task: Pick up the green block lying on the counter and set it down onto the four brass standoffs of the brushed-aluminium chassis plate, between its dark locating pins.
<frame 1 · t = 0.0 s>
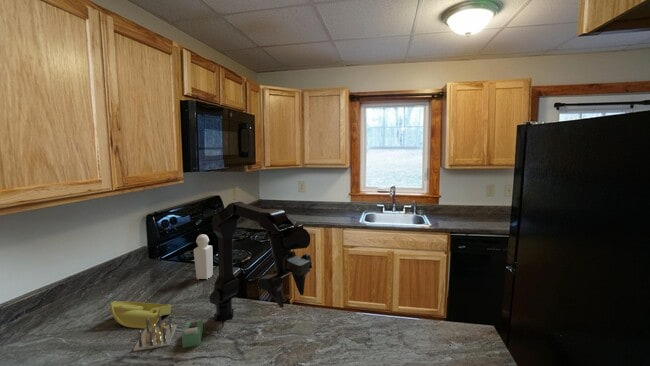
hand: (292, 300, 89), 15 cm above the counter, tool pointing down, fingers open, 9 cm apart
plastic component: (141, 319, 109), on the counter
green block: (193, 339, 97), on the counter
white peg figure: (204, 277, 146), on the counter
chassis: (156, 338, 97), on the counter
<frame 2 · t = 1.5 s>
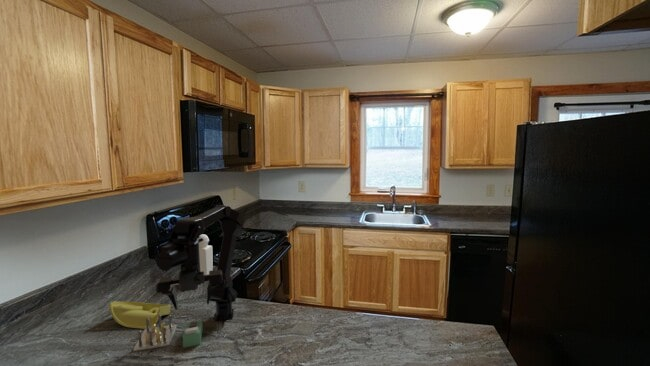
hand: (192, 306, 93), 12 cm above the counter, tool pointing down, fingers open, 9 cm apart
nothing on the counter moved.
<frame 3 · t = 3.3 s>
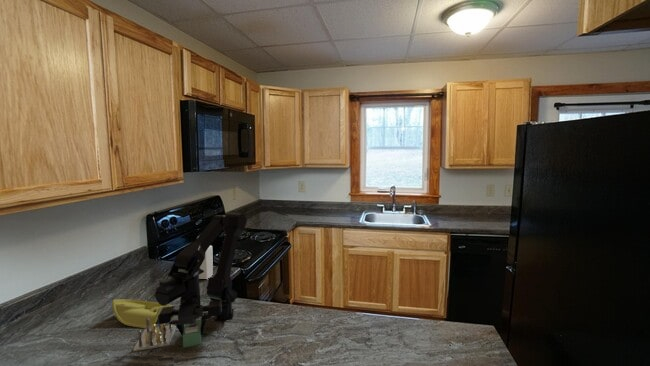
hand: (193, 335, 96), 1 cm above the counter, tool pointing down, fingers closed on green block, 5 cm apart
green block: (193, 338, 97), on the counter, touching gripper
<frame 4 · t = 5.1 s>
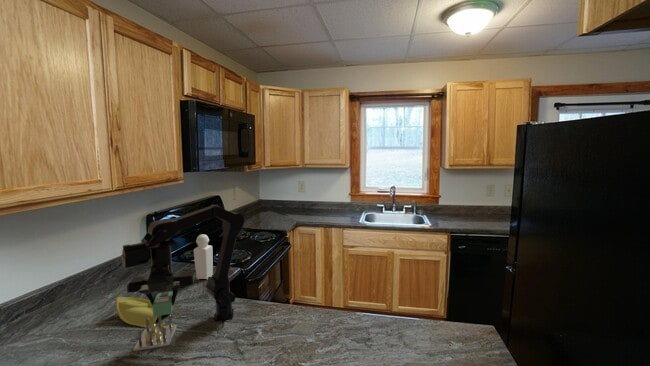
hand: (164, 306, 96), 11 cm above the counter, tool pointing down, fingers closed on green block, 5 cm apart
green block: (164, 309, 96), point 10 cm above the counter, touching gripper
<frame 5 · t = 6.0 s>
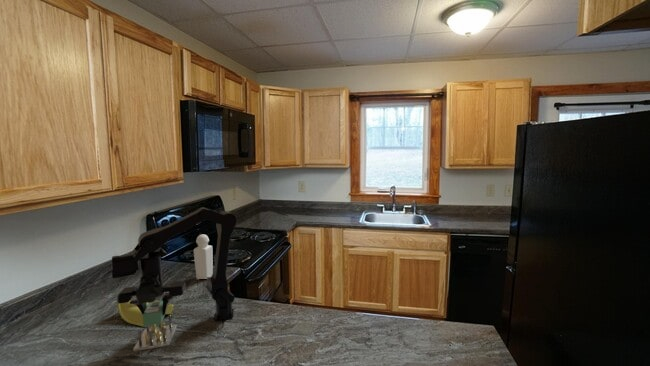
hand: (155, 316, 97), 8 cm above the counter, tool pointing down, fingers closed on green block, 5 cm apart
green block: (155, 318, 97), point 7 cm above the counter, touching gripper
when the fingers open (6 cm above the counter, at t = 6.7 s): green block drops 1 cm, resting on chassis.
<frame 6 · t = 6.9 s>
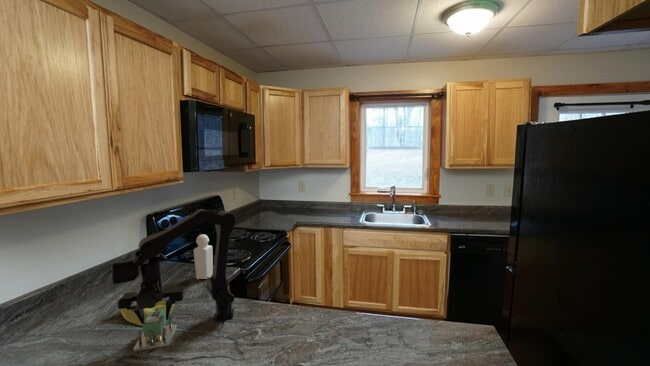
hand: (155, 321, 97), 6 cm above the counter, tool pointing down, fingers open, 7 cm apart
green block: (156, 328, 97), point 3 cm above the counter, touching chassis
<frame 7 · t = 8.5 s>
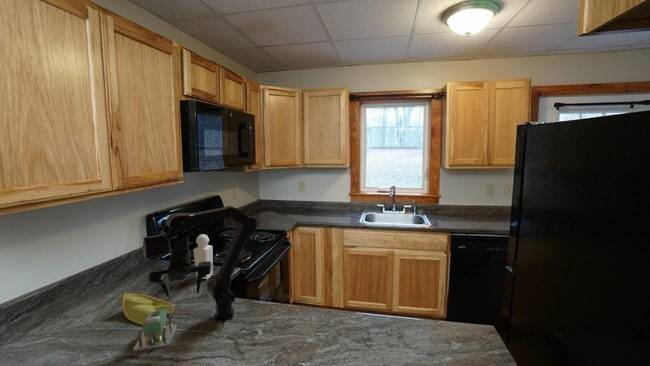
hand: (183, 294, 100), 13 cm above the counter, tool pointing down, fingers open, 9 cm apart
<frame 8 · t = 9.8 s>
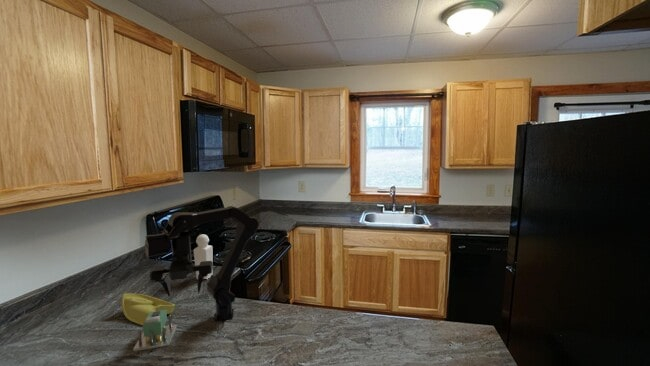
hand: (184, 294, 100), 13 cm above the counter, tool pointing down, fingers open, 9 cm apart
at the end: green block 0.2 cm off-centre on the chassis, point 3.3 cm above the chassis's base; green block tilted 0°; the gripper is holding nothing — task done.
